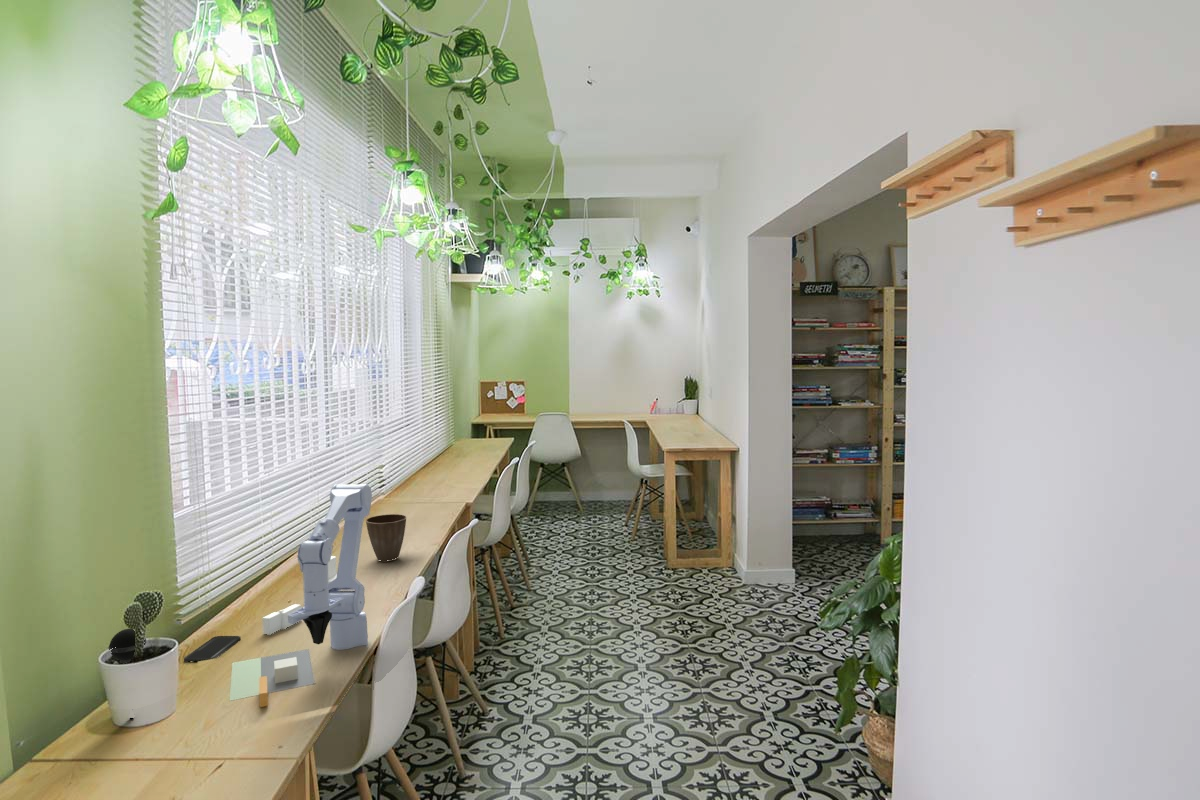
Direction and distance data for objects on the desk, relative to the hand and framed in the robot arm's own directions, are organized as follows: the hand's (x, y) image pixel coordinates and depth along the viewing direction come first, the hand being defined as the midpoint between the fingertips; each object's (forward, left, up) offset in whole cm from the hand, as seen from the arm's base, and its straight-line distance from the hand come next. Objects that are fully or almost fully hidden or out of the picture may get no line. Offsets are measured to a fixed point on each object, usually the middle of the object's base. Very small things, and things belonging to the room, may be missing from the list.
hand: (318, 642), depth 173 cm
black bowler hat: (+38, +4, -8) cm, 40 cm away
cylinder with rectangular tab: (-7, -60, -8) cm, 61 cm away
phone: (+24, -29, -9) cm, 39 cm away
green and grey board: (+10, -4, -8) cm, 14 cm away
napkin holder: (+8, -38, -9) cm, 39 cm away
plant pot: (-32, -93, -8) cm, 99 cm away
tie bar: (+13, +10, -7) cm, 17 cm away
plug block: (+7, 0, -7) cm, 10 cm away
